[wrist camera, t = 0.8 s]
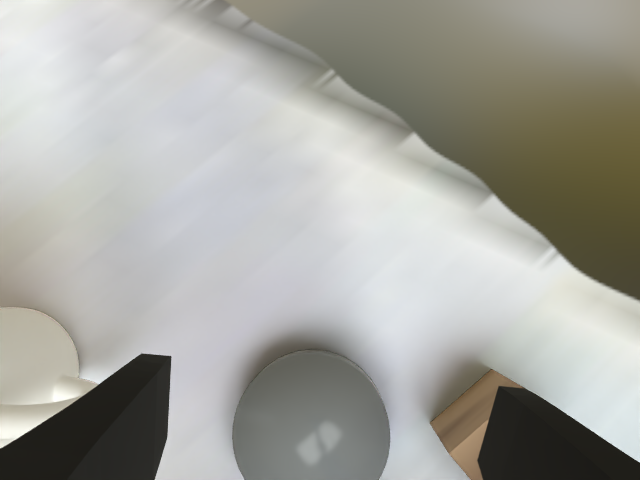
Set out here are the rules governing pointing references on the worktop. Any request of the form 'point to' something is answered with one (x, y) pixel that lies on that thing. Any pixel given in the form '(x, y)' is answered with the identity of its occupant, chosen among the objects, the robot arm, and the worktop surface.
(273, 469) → the slate pedestal
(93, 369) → the worktop surface
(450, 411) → the walnut cube
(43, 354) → the mug
